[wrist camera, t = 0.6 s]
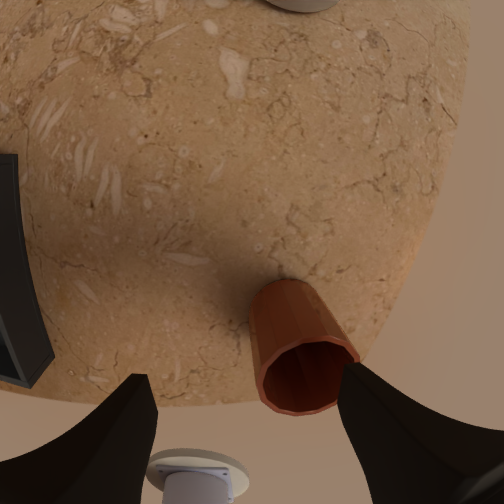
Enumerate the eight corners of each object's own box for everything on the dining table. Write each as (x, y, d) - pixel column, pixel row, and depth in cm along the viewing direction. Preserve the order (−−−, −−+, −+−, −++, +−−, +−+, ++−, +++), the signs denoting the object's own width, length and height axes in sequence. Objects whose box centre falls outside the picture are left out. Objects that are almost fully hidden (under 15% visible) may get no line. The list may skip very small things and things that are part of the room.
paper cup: (320, 341, 20) (352, 407, 14) (248, 347, 20) (256, 420, 13) (325, 276, 19) (369, 330, 12) (246, 280, 19) (255, 340, 12)
